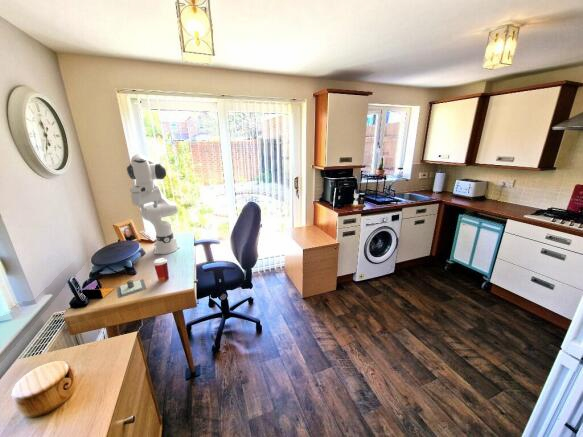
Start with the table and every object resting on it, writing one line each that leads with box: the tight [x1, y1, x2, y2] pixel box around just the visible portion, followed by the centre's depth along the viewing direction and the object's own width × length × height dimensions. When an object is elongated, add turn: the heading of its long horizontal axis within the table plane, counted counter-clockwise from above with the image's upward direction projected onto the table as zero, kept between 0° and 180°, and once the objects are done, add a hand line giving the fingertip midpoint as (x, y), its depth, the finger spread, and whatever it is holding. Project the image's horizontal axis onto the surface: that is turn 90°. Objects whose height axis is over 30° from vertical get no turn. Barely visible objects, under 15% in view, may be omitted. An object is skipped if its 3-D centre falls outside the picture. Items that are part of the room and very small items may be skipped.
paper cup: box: [152, 257, 170, 283], centre depth 148 cm, size 8×8×14 cm
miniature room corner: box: [81, 280, 115, 300], centre depth 135 cm, size 12×12×7 cm
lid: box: [119, 279, 142, 295], centre depth 140 cm, size 10×10×4 cm
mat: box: [116, 278, 147, 299], centre depth 141 cm, size 14×14×1 cm
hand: (150, 209), depth 146 cm, fingers open, 8 cm apart
